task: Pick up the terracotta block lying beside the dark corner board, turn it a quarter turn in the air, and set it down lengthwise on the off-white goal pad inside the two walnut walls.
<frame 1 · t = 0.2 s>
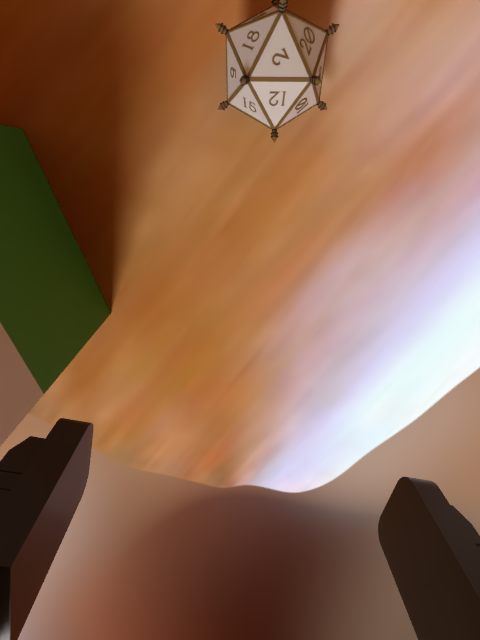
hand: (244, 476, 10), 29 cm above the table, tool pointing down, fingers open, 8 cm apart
game die: (269, 81, 32), on the table
hardback book: (35, 241, 36), on the table
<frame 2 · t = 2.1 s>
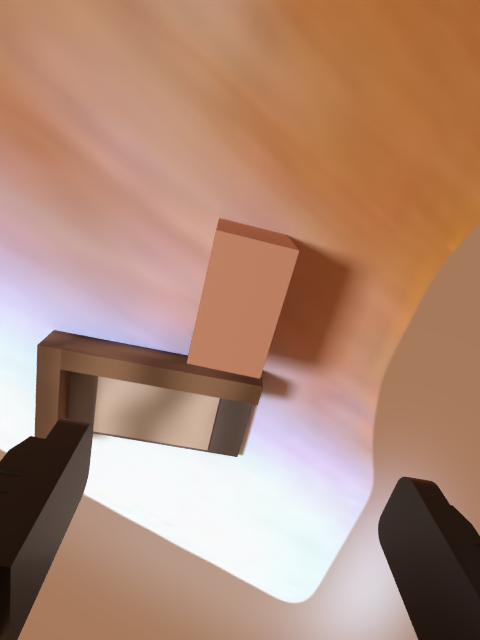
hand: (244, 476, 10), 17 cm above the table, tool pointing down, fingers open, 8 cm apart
block: (238, 284, 26), on the table
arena: (152, 396, 29), on the table
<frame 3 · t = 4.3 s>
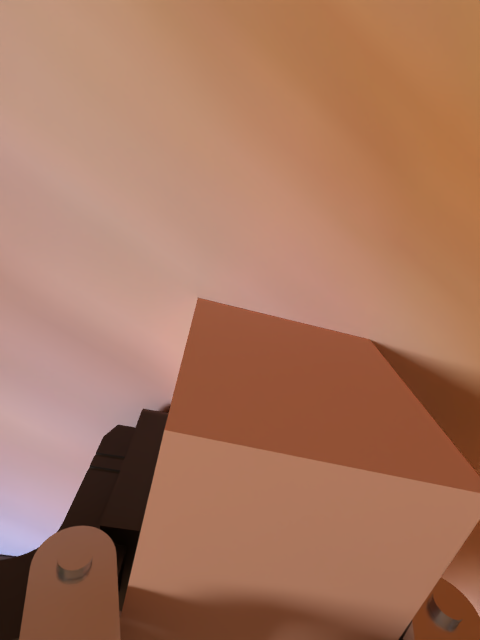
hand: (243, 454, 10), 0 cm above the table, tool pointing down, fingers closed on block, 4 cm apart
block: (244, 444, 11), on the table, touching gripper
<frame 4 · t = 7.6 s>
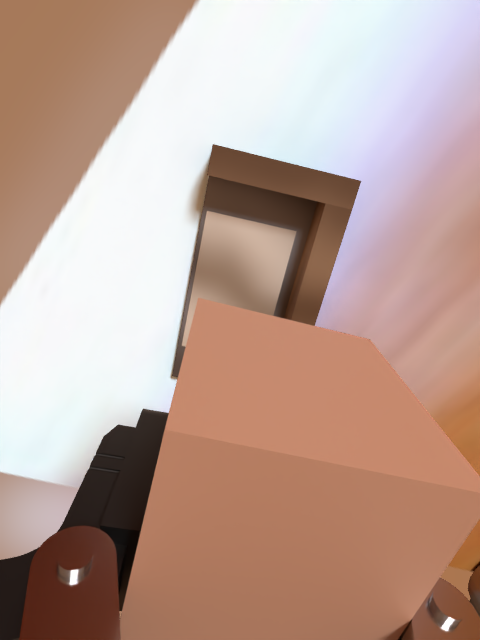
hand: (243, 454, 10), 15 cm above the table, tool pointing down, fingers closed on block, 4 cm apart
block: (244, 444, 11), point 15 cm above the table, touching gripper
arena: (252, 285, 25), on the table
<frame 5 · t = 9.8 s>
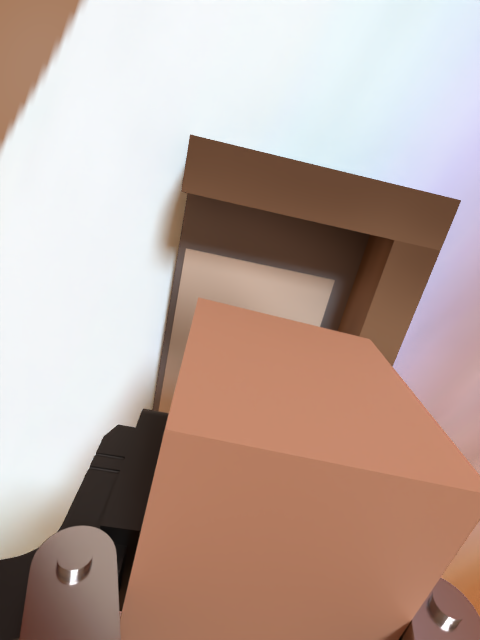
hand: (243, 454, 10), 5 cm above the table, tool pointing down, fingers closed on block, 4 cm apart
block: (244, 444, 11), point 5 cm above the table, touching gripper
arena: (261, 360, 16), on the table
when the fingers open (3 cm above the table, at t = 11.3 s): block drops 2 cm, resting on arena.
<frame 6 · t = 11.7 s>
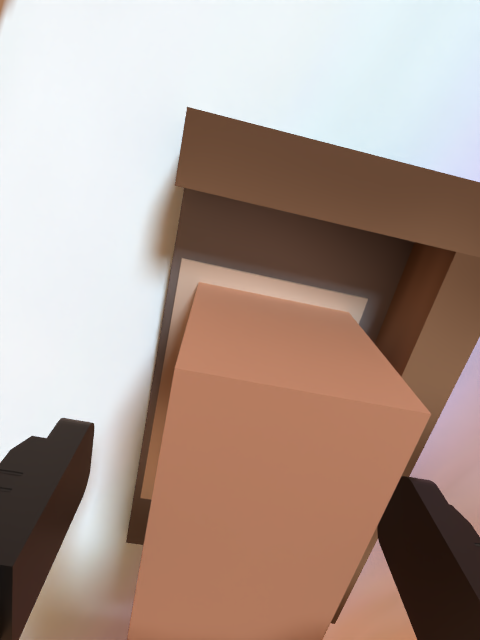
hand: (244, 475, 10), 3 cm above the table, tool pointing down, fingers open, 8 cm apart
block: (245, 410, 12), resting on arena
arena: (273, 393, 13), on the table
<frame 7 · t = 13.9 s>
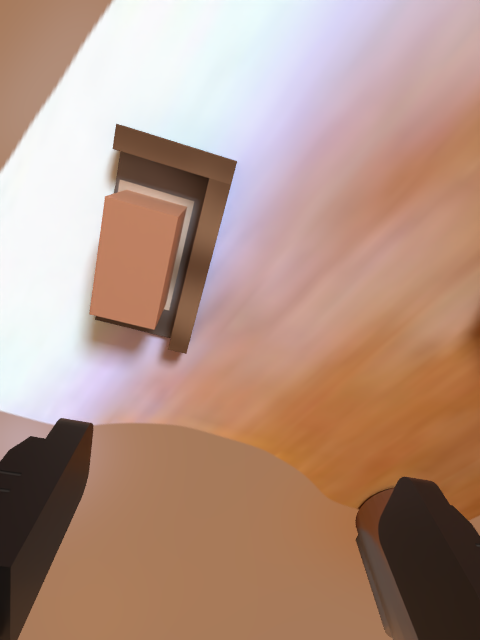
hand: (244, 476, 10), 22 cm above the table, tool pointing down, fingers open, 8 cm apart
block: (147, 250, 29), resting on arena
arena: (161, 245, 30), on the table
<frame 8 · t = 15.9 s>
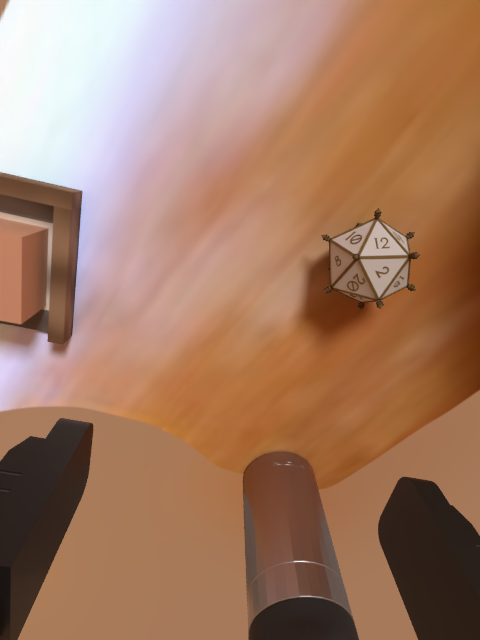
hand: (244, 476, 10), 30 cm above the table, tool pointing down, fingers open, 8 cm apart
game die: (354, 253, 38), on the table
block: (23, 263, 37), resting on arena
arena: (35, 259, 38), on the table
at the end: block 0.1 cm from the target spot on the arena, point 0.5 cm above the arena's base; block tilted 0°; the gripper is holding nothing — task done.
